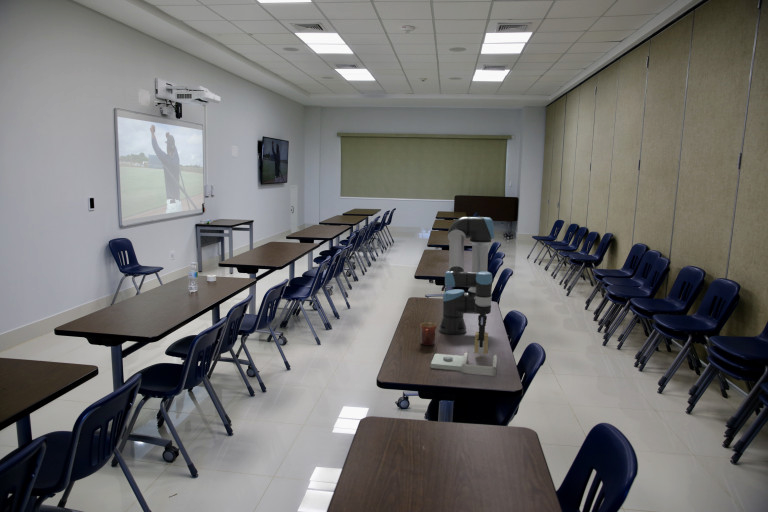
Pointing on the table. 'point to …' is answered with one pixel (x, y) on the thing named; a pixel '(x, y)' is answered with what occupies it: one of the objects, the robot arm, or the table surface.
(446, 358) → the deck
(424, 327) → the mug
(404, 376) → the table surface
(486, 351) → the chute block
